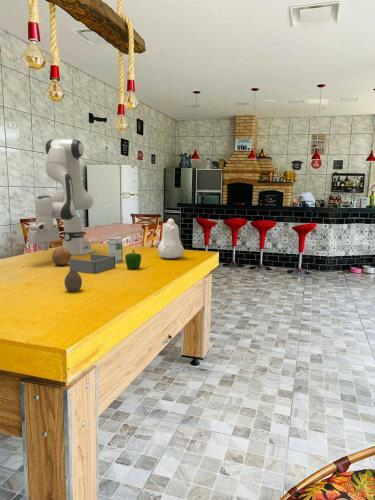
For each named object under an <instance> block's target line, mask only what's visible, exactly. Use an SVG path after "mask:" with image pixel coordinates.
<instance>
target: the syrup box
mask: <svg viewBox="0 0 375 500" xmlns="http://www.w3.org/2000/svg"><path fill="white" fill-rule="evenodd" d="M107 239H108V243H107V244H108V246H107V247H108V256H115V264H119V263H122V262H124V261H123V260H124V259H123V257H124V256H123V253H124V252H123V237H121V236H111V237H108V238H107Z"/></svg>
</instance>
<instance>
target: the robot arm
mask: <svg viewBox="0 0 375 500" xmlns="http://www.w3.org/2000/svg"><path fill="white" fill-rule="evenodd" d="M44 149H45V154H47V157H46V164H45V165H46V166H45V173H46V175H47V176H48V178H49V179H51V180H52V181H55V182H56V183H59V184H61V186H62V188H63V191H61V192H56V193H53V194H52V196H51V195H48V194H47V195H46V194H45V195H38V196H37V197H36V199H35V215H36V217H35V222H33V223H32V224H29V225H28V243H29V244H31V245H34V244H40V247H41V250H42V251H45V252H46V251H48V250H49V247H50V244H51V242H58V241H60V239H61V237H60V236H61V235H60V229H59V227H58V225H57V224H54V220H62V222H63V224H62V225H63V232H62V237H63V240H62V247H64V248H66V249H67V250H68V251H69V252H70V254H71V256H75V255H76V256H78V255H79V256H81V255H82V256H83V255H88V254H92V253H94V252H95V249H93V248H92V245H91V242H90V241H89V240H88V239H86V238H85V235H87V232H86V231H83V229H82V228H83V227H82V226H83V224H82V223H83V221H82V218H80V217H79V216H78V215H76V211H84V210H85V211H86V210H89V209H91V208H92V206H93V205H94V199H93V196H92V194H90V193H89V192H87V190H86V189H85V187H84V185H83V184H82V178H81V177H82V176H81V164H80V163H81V162H80V158H81V157H82V156H83V154H84V145H83V143H82V142H81V140H79V139H70V138H62V139H58V138H57V139H49V140H47V142H46V143H45V148H44Z"/></svg>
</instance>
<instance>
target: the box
mask: <svg viewBox="0 0 375 500" xmlns="http://www.w3.org/2000/svg"><path fill="white" fill-rule="evenodd" d="M89 254H90V260H88V259H87V260H86V259H85V260H84V259H77V258H71V259H69V271H70V270H71V269H75V270H76V271H77V272H78V273H84V274H85V273H87V274H92V275H93V274H98V273H101V272H105V271H108V270H110V269H111V270H112V269H114V268H115V269H116V263H115V256H109V255H105V254H95V253H89Z"/></svg>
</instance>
